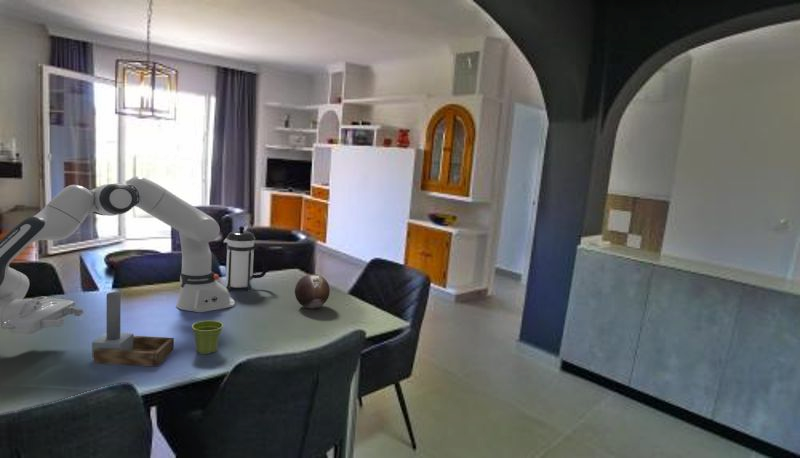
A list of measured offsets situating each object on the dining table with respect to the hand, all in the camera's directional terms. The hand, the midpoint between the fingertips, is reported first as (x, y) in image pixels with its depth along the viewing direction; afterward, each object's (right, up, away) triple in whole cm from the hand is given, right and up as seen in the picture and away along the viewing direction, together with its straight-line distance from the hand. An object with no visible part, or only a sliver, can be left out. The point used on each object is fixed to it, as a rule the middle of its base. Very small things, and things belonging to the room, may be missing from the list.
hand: (72, 317), depth 138 cm
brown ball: (+60, -8, +64) cm, 88 cm away
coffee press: (+23, -2, +83) cm, 86 cm away
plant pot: (+36, -13, +12) cm, 40 cm away
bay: (+17, -13, +3) cm, 22 cm away
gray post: (+11, -12, +3) cm, 16 cm away
